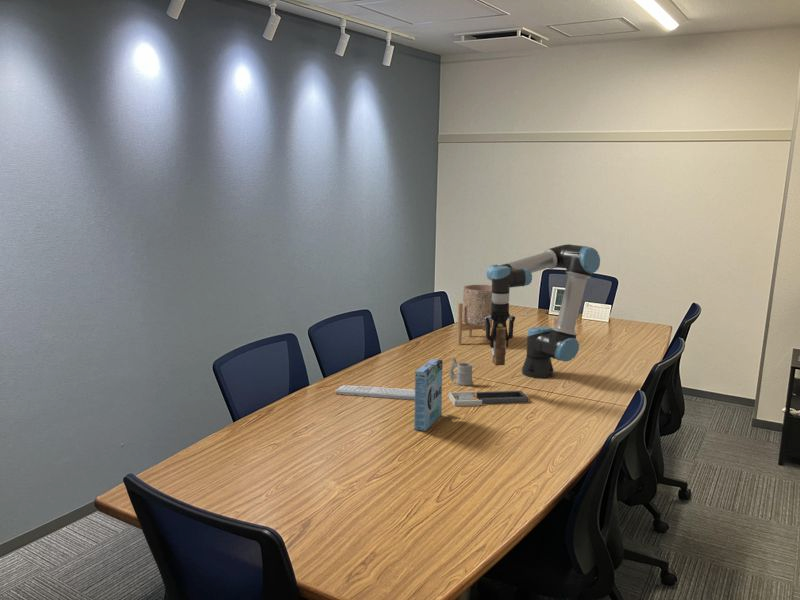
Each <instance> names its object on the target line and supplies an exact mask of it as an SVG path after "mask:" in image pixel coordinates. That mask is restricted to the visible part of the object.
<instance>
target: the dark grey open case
mask: <svg viewBox="0 0 800 600" xmlns="http://www.w3.org/2000/svg"><path fill="white" fill-rule="evenodd" d="M475 397H476V399H477V400H482V405H493V404H494V405H495V404H500V405H501V404H517V403H518V404H520V403H521V404H522V403H523V404H524V403H527V404H528V403H529V396H528V395H526V394H525V393H524V392H523V391H522V390H504V391H503V390H502V391H501V390H500V391H499V390H498V391H477V392H475Z"/></svg>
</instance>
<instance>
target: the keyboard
mask: <svg viewBox="0 0 800 600" xmlns="http://www.w3.org/2000/svg"><path fill="white" fill-rule="evenodd" d="M342 385H343V386H341V385H340V386H339V387H338V388H337V389H335V390H334V391H335V393H336V394H337V395H341V394H343V396H344V395H346V396H355V395H358V396H357V397H368V396H369V397H370V398H384V399H398V400H409V401H410V400H413V401H415V389H411V388H410V389H409V388H394V387H379V386H362V385H347V386H346V384H342Z"/></svg>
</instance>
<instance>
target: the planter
mask: <svg viewBox="0 0 800 600" xmlns="http://www.w3.org/2000/svg"><path fill="white" fill-rule="evenodd" d="M462 294H463V297H462V302H457V303H458V304H457V306H458V307H457V330H456V331H457V334H456V335H457V336H456V344H457V345H459V346H460V345H462V333H463V331H467V338H472V337H473V335H472V334H473V331H475V330H482V331H484V332H486V321H485V319H484V317H488V316H490V314H491V303H492V284H468V285H464V286H463V293H462ZM498 325H502V324H501V323H500V324H498ZM492 327H493V320H492V318H491V320H490V334H491V331H492ZM490 349H491V350H492V348H491V347H490Z"/></svg>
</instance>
